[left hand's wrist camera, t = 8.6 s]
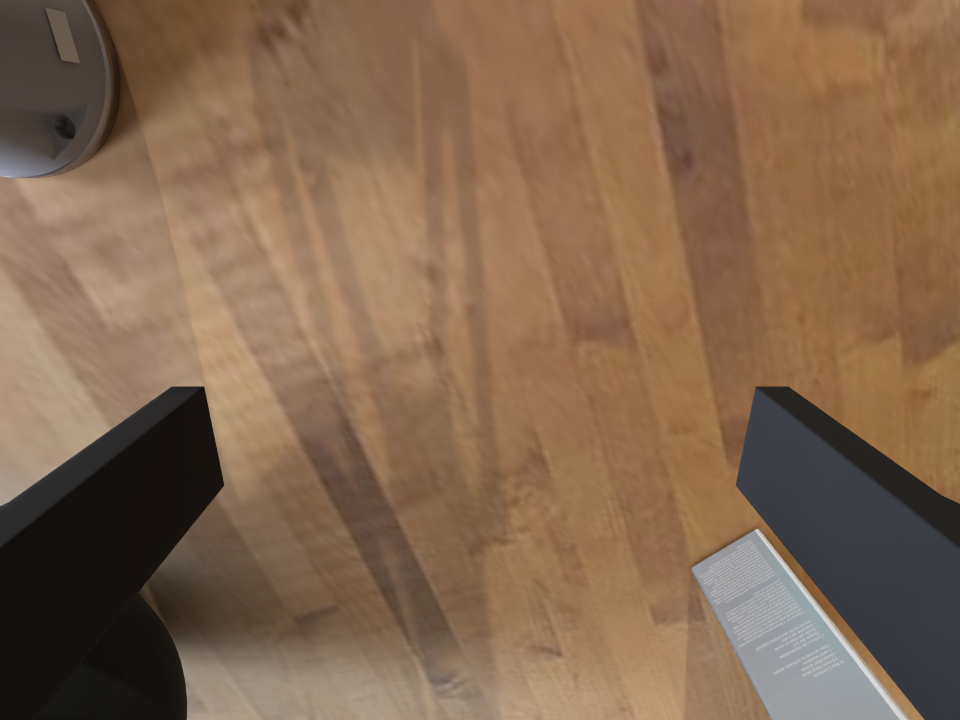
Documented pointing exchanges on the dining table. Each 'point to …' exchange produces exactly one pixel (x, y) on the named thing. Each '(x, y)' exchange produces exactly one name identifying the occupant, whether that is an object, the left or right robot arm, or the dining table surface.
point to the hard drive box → (788, 638)
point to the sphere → (126, 674)
